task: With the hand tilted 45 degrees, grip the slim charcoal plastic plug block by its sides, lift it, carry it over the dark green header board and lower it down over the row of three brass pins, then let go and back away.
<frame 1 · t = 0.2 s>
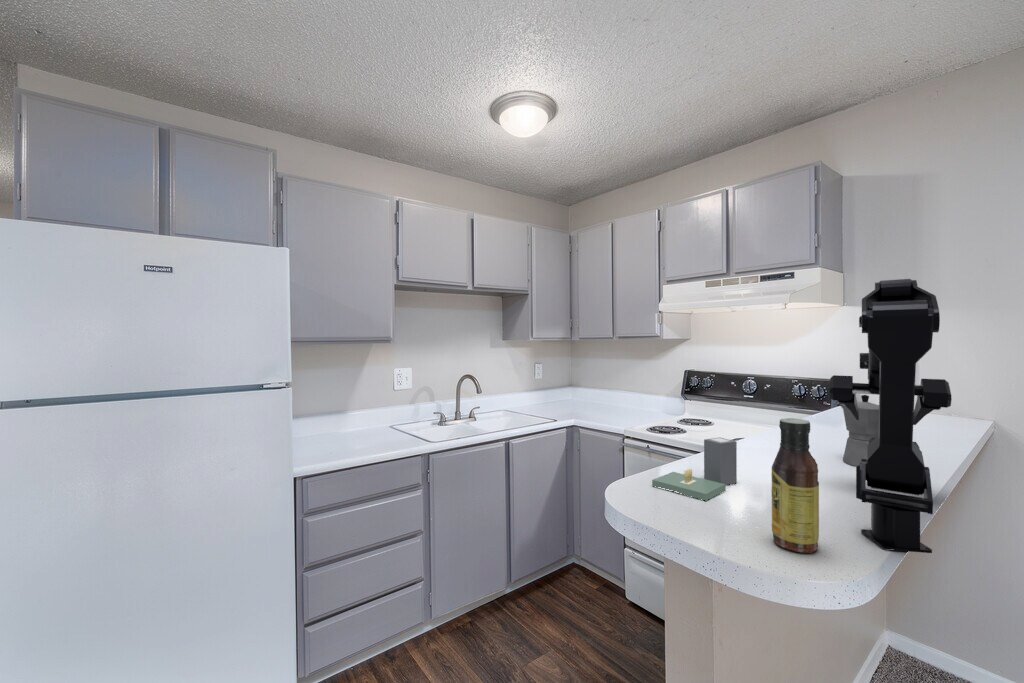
hand: (885, 421, 95), 15 cm above the table, tool tilted 35°, fingers open, 9 cm apart
sauce bottle: (794, 547, 69), on the table
coffeepot: (869, 466, 113), on the table
plug block: (720, 482, 100), on the table
header board: (688, 488, 96), on the table
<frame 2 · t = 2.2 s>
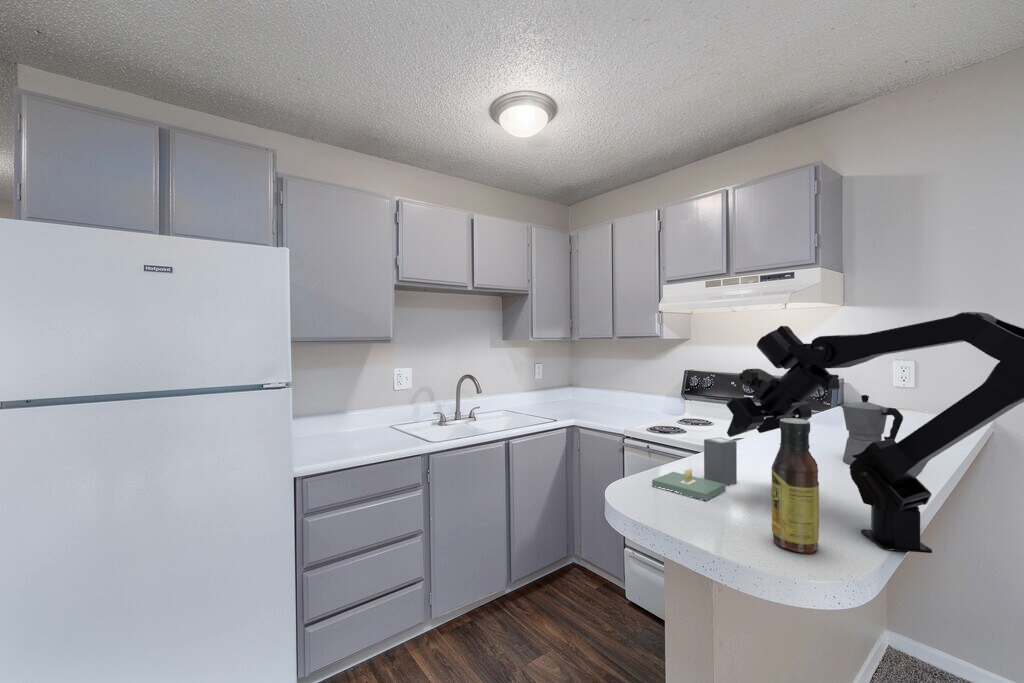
hand: (743, 433, 95), 12 cm above the table, tool tilted 45°, fingers open, 9 cm apart
nothing on the table moved.
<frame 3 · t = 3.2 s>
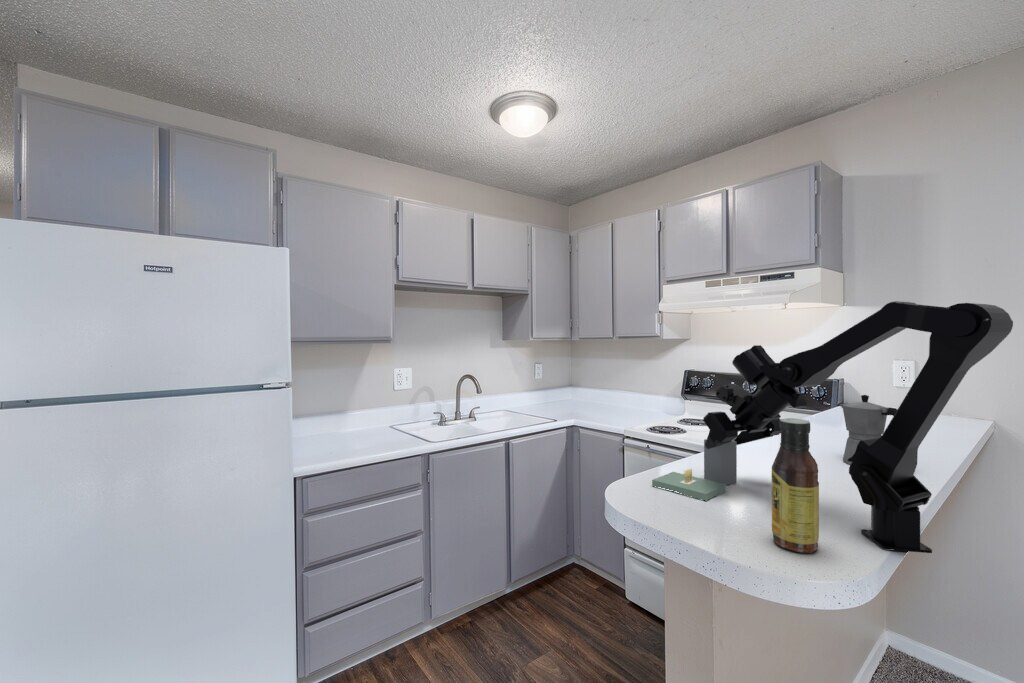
hand: (721, 445, 100), 9 cm above the table, tool tilted 45°, fingers open, 9 cm apart
nothing on the table moved.
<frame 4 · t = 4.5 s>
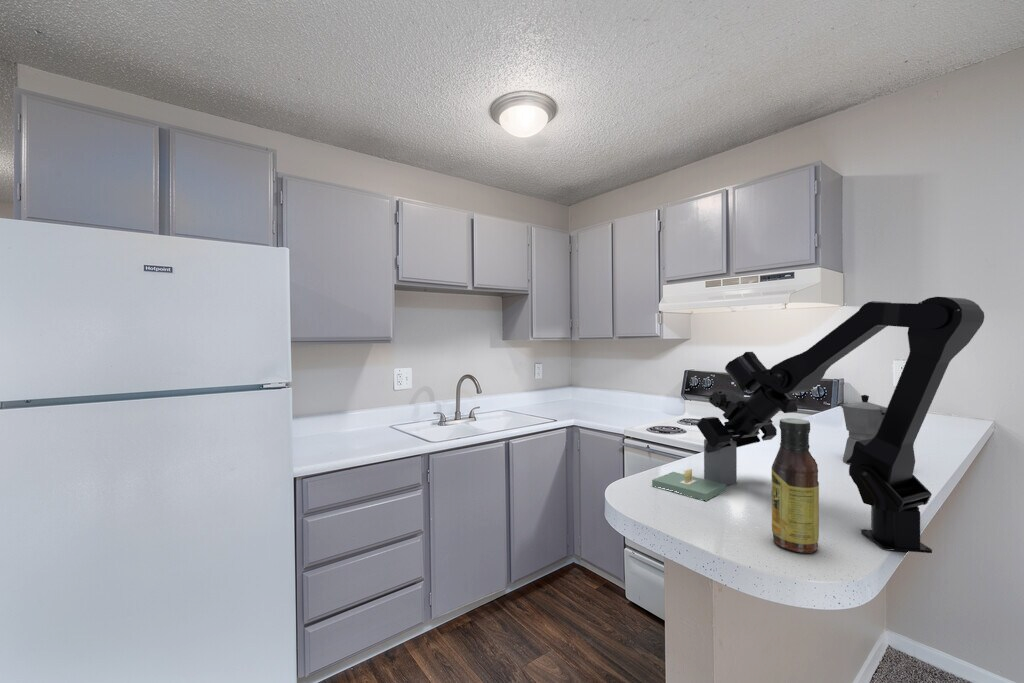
hand: (715, 449, 101), 7 cm above the table, tool tilted 45°, fingers closed on plug block, 5 cm apart
plug block: (720, 482, 100), on the table, touching gripper
everything else where it was.
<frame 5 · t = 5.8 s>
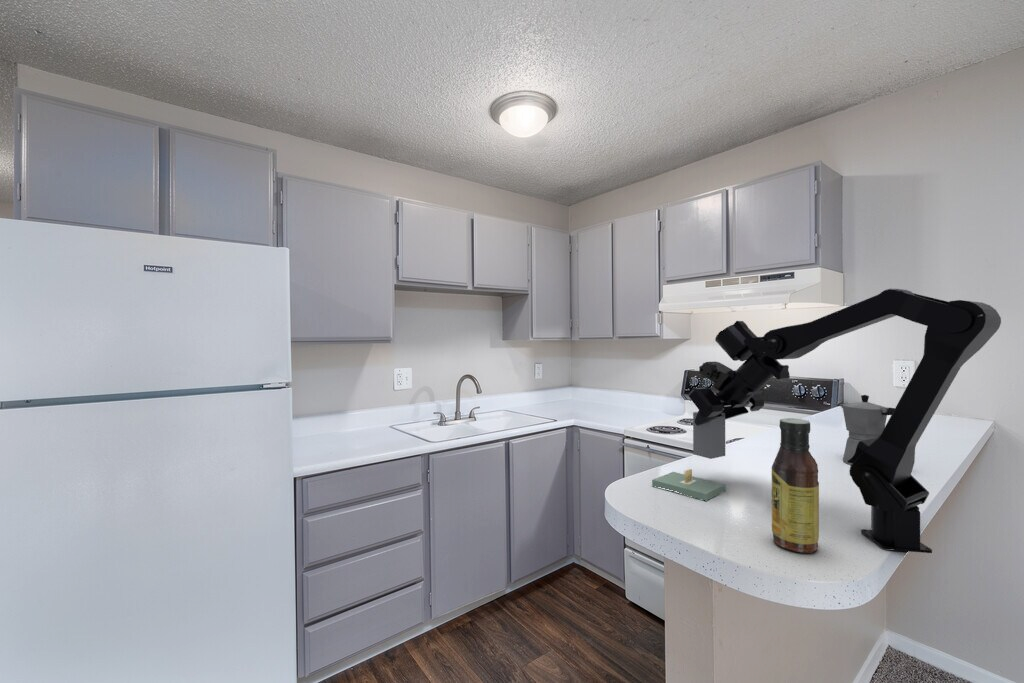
hand: (703, 422, 100), 14 cm above the table, tool tilted 45°, fingers closed on plug block, 5 cm apart
plug block: (709, 455, 99), point 6 cm above the table, touching gripper
everything else where it was.
when the fingers open (9 cm above the table, at t = 7.6 s): plug block stays where it is, resting on header board.
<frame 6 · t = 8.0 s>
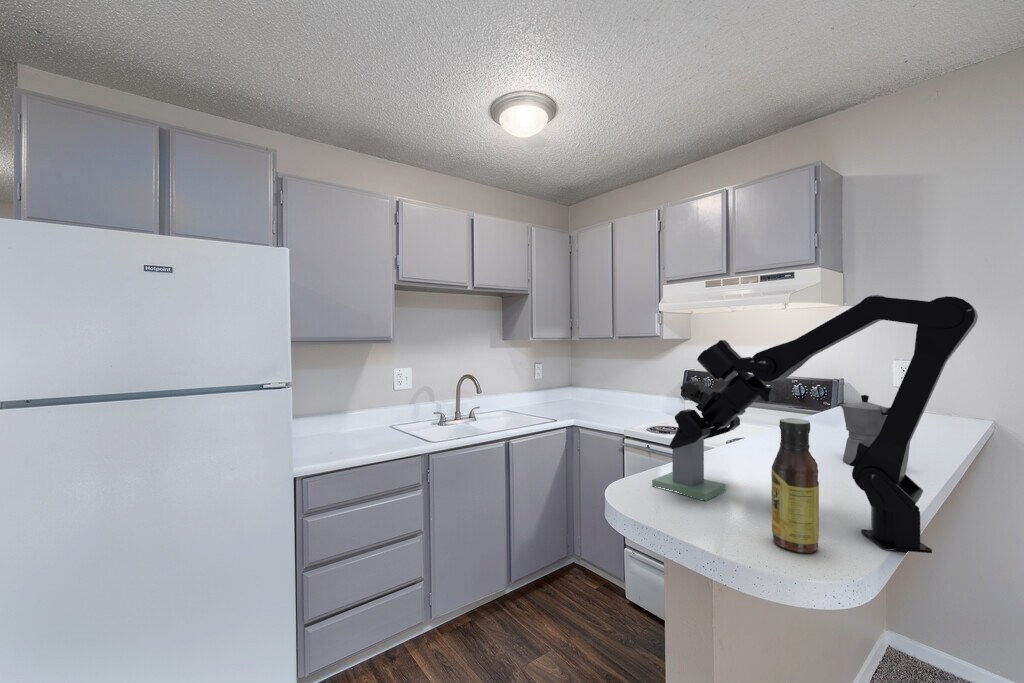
hand: (682, 443, 97), 10 cm above the table, tool tilted 45°, fingers open, 9 cm apart
plug block: (688, 481, 96), point 1 cm above the table, touching header board
everything else where it was.
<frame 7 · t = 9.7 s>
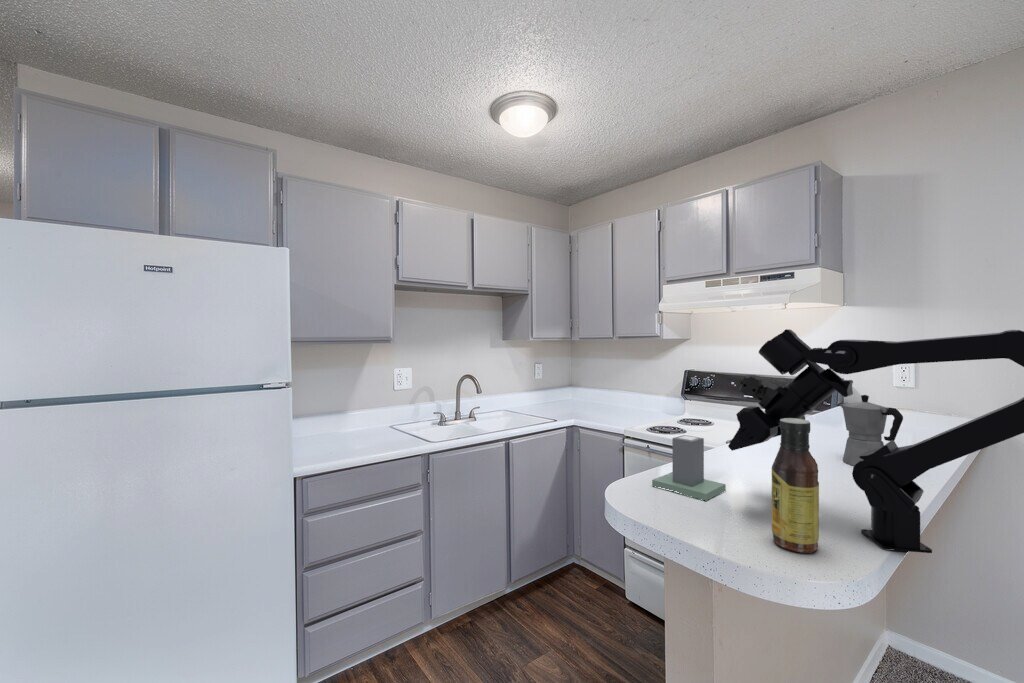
hand: (740, 444, 88), 11 cm above the table, tool tilted 45°, fingers open, 9 cm apart
nothing on the table moved.
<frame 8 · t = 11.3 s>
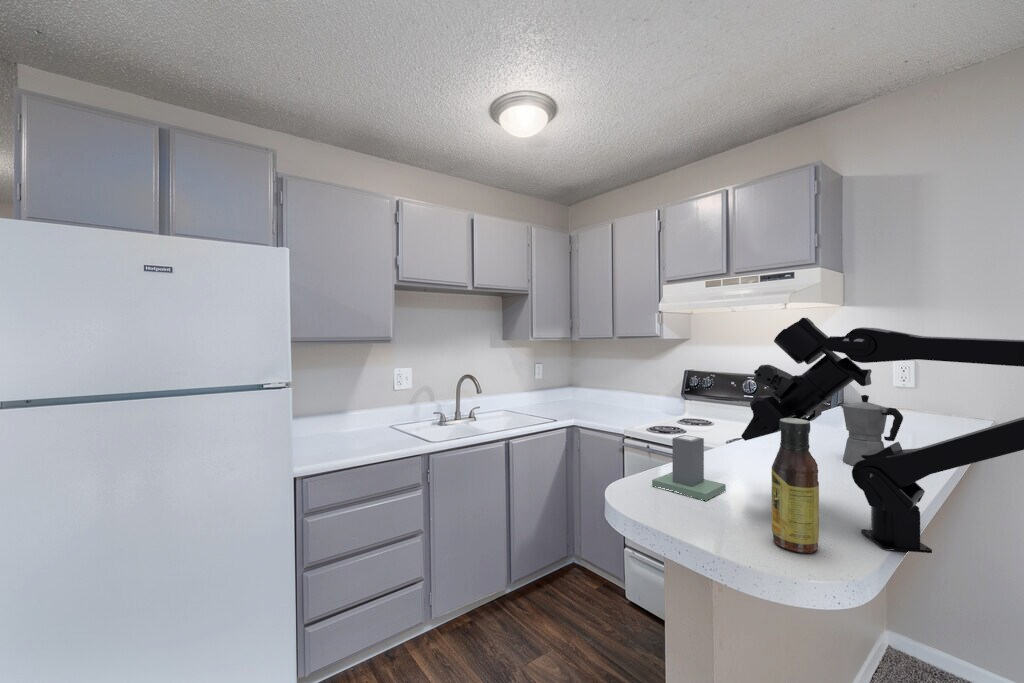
hand: (754, 435, 87), 14 cm above the table, tool tilted 45°, fingers open, 9 cm apart
nothing on the table moved.
at the end: plug block 0.0 cm off-centre on the header board, point 1.5 cm above the header board's base; plug block tilted 0°; the gripper is holding nothing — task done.
